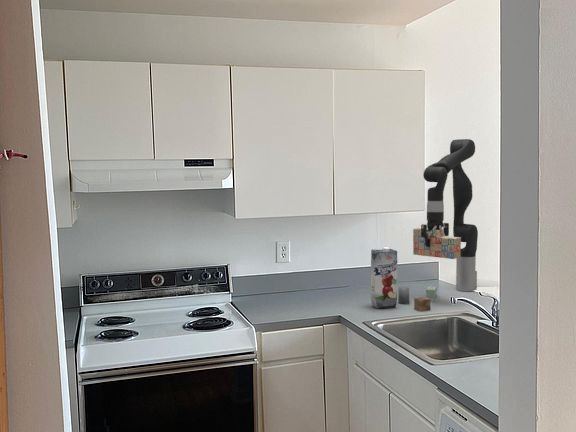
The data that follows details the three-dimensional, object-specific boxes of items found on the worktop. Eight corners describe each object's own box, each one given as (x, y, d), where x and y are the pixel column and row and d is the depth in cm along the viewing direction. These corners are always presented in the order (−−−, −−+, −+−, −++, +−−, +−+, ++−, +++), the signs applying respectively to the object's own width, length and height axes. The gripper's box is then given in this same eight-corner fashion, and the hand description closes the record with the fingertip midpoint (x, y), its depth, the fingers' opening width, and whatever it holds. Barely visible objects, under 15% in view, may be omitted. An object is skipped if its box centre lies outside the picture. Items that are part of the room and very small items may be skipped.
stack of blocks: (460, 257, 270) (461, 230, 269) (453, 259, 265) (453, 231, 264) (420, 253, 285) (420, 227, 284) (412, 254, 281) (412, 228, 280)
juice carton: (368, 305, 272) (369, 246, 269) (389, 303, 275) (390, 245, 272) (377, 309, 263) (377, 248, 261) (399, 307, 266) (399, 247, 264)
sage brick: (428, 294, 293) (428, 286, 293) (436, 295, 292) (436, 286, 292) (426, 298, 286) (426, 289, 286) (434, 298, 285) (434, 290, 284)
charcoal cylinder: (405, 301, 279) (405, 286, 278) (411, 303, 274) (411, 288, 274) (396, 302, 277) (396, 287, 276) (402, 304, 272) (402, 289, 272)
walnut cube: (423, 308, 266) (423, 296, 266) (430, 310, 262) (430, 299, 261) (414, 309, 264) (414, 298, 264) (421, 311, 260) (421, 300, 259)
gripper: (442, 209, 280) (442, 244, 282) (417, 210, 274) (417, 246, 276) (453, 210, 273) (452, 246, 275) (427, 211, 268) (427, 248, 269)
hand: (434, 246), depth 275 cm, fingers closed on stack of blocks, 7 cm apart
